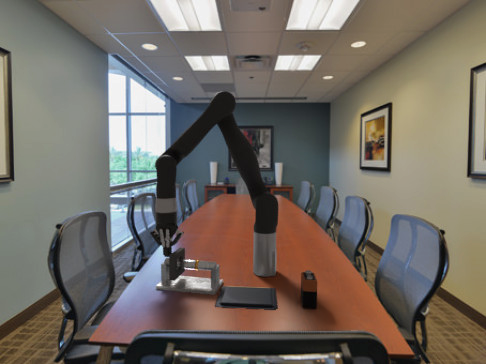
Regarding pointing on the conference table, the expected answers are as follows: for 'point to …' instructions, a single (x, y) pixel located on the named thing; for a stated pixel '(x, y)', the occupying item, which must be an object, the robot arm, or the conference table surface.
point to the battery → (308, 290)
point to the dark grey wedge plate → (173, 257)
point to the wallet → (247, 298)
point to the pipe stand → (188, 282)
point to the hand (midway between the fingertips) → (167, 256)
